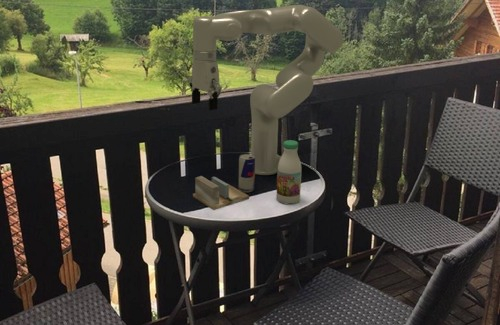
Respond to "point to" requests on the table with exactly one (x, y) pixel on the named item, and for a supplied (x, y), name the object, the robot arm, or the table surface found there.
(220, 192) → the grey rectangular plate
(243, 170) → the energy drink
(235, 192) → the board
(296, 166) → the milk bottle
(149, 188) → the table surface
